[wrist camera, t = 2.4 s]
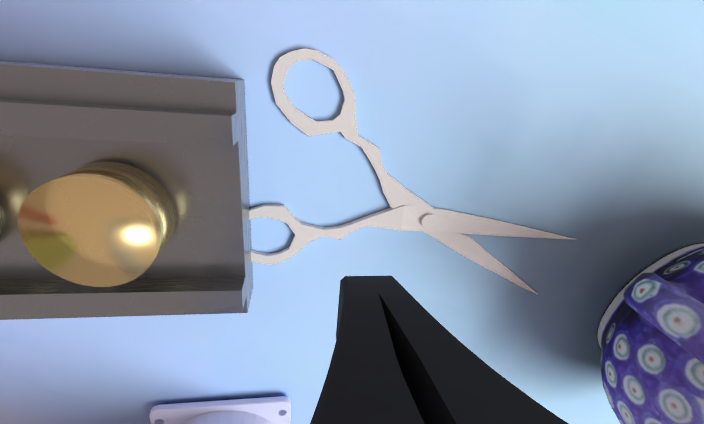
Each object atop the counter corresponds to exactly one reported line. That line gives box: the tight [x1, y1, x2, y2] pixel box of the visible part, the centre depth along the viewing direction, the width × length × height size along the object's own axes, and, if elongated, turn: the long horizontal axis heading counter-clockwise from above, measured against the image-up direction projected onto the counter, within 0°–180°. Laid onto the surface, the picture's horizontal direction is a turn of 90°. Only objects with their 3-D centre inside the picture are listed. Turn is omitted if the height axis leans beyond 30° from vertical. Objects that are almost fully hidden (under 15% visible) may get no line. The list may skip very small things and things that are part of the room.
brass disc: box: [18, 161, 176, 287], centre depth 12 cm, size 4×4×2 cm
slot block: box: [0, 60, 253, 320], centre depth 13 cm, size 10×14×3 cm
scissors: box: [249, 48, 578, 295], centre depth 17 cm, size 11×1×20 cm
